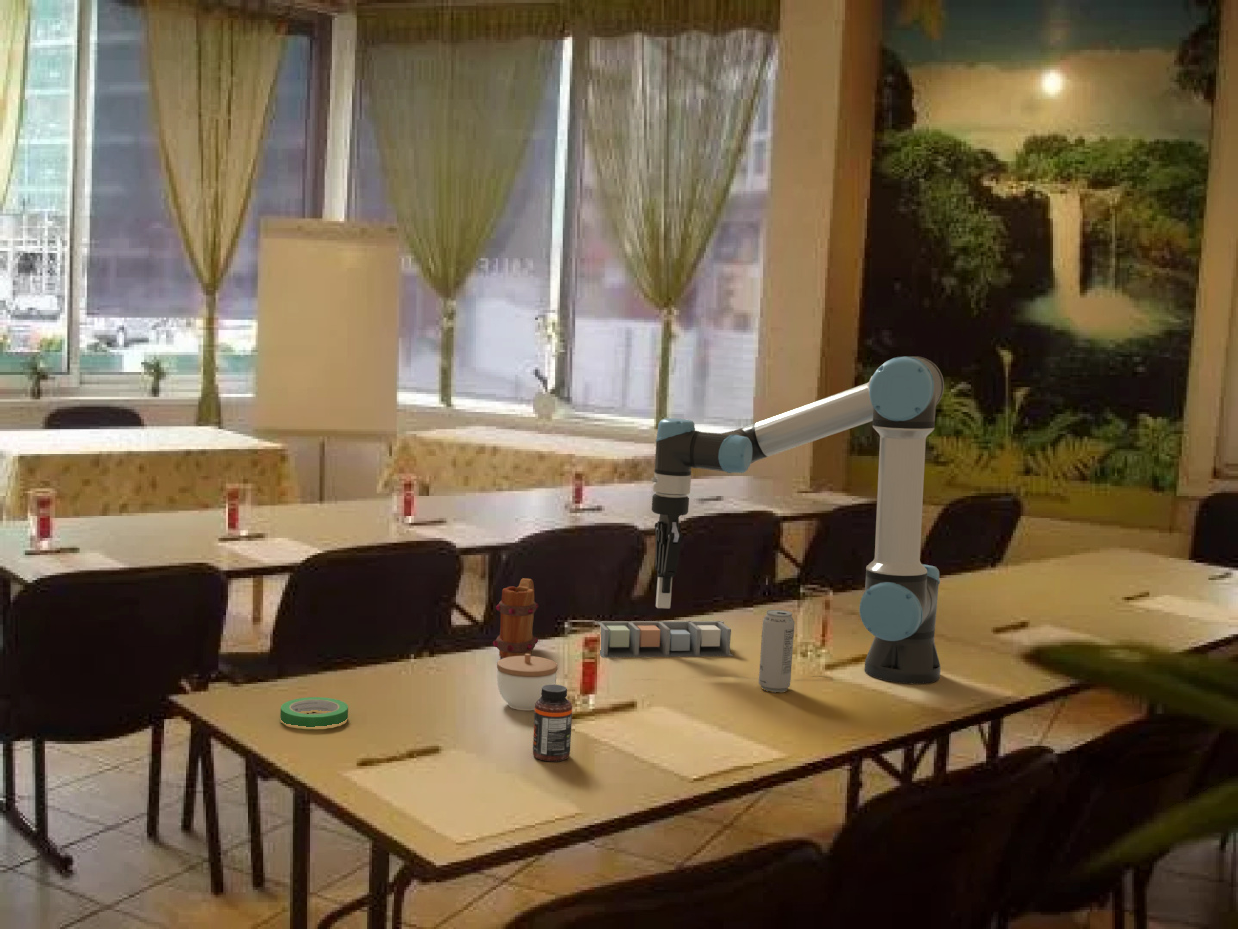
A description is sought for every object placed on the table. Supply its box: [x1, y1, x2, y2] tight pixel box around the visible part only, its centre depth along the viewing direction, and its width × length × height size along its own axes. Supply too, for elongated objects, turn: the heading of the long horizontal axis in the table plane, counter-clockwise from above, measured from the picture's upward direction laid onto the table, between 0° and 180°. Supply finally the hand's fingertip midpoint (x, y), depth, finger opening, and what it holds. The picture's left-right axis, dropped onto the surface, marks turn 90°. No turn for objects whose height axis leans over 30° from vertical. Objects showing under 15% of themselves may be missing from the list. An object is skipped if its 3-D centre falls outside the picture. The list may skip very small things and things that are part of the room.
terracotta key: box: [637, 625, 660, 647], centre depth 294 cm, size 4×4×4 cm
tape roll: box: [279, 696, 349, 727], centre depth 239 cm, size 11×11×3 cm
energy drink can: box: [758, 609, 795, 693], centre depth 273 cm, size 6×6×15 cm
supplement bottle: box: [532, 684, 573, 762], centre depth 226 cm, size 6×6×11 cm
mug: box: [492, 577, 539, 659], centre depth 288 cm, size 15×8×15 cm, turn 168°
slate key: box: [669, 629, 691, 651], centre depth 296 cm, size 4×4×4 cm
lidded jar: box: [496, 653, 558, 711], centre depth 253 cm, size 11×11×9 cm
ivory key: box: [697, 625, 721, 646], centre depth 297 cm, size 4×4×4 cm
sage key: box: [606, 626, 630, 647], centre depth 292 cm, size 4×4×4 cm
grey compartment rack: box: [593, 620, 735, 658], centre depth 295 cm, size 10×28×6 cm, turn 104°
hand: (662, 607), depth 294 cm, fingers closed
